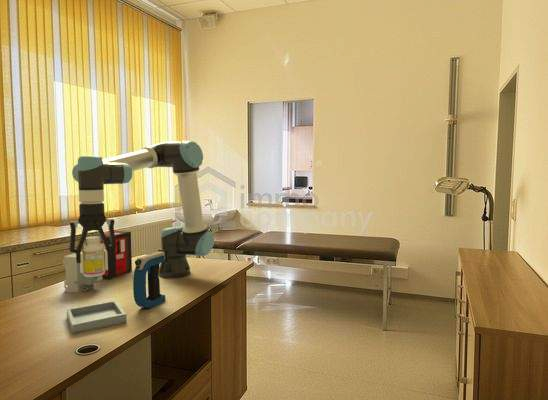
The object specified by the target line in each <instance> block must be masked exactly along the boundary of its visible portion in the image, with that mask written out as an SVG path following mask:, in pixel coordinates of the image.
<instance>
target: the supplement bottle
mask: <svg viewBox="0 0 548 400" xmlns="http://www.w3.org/2000/svg"><path fill="white" fill-rule="evenodd" d="M100 240H101V237H99V236H96V235H92V236H86V238H85V241H84V243H85V245H83V247H82V250H81V252H82V253H83V262H84V273H83V275H84V276H85V277H98V276H101V275H103V274H104V273H105V258H104V246H103V245H102V244H100Z"/></svg>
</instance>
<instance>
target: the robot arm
mask: <svg viewBox="0 0 548 400" xmlns="http://www.w3.org/2000/svg"><path fill="white" fill-rule="evenodd" d="M202 150H203V149H202V148H201V146H200V145H199V143H197V142H196V141H193V140H175V141H163V142H159V143H156V144H151V145H149V146H145V147H142V148H141V149H140V150H138V151H133V152H129V153H126V154H125V153H124V154H121V155H117V156H111V157H108V158H104V159H103V157H102V156H99V155H81V156H79V157H78V158H77V163H76V164H75V165H74V166H73V168H72V171H71V173H72V174H71V175H72V178H73V179H74V181H75V182H76V183H77V182H78V183H77V185H78V202H79V204H78V208H79V209H78V211H79V214H78V215H79V217H78V219H77V220H74V221H69V223H68V224H69V227H70V235H69V236H70V237H69V252H70V253H71V254H73V253H76V262H77V263H80V272H81V273H84V262H83V253H82V248H83V246H84V244H85V238H86V237H87V236H88V234H89V232H92V231H97V232H98V233H99V234H98V235H100V236H101V239H102V241H103V243H104V245H105V248H106V250H104V258H105V270H108V260H109V259H111V249H113V248H116V240H115V233H114V231H115V228H114V225H115V223H116V222H115V220H114V218H107V217H106V216H105V204H104V201H105V195H104V194H105V192H104V187H105V186H104V185H122V184H127V183H130V182H131V180H132V178H133V174H134V173H133V172H136V171H138V170H143V169H146V168H147V169H155V168H172V173H173V174H174V175H175V176H177V183H178V190H179V196H180V202H181V210H182V215H183V222H184V225H179V226H172V227H171V226H170V227H166V228H163V229H162V230H161V233H160V234H161V236H160V239H161V240H160V242H161V243H160V245H161V250H167V256H168V261H167V262H162V263H160V265H159V277H162V278H169V279H171V278H181V277H185V276H188V275H190V274H191V267H190V264H189V260H188V258H187V255H190V256H197V257H206V256H208V254H210V253H211V251H212V249H213V247H214V243H215V235H214V233H212V231H208V225H207V224H205V223H204V217H203V211H202V203H201V196H200V189H199V181H198V175H197V174H198V172H199V171H200V167H201V166H202V165H203V160H204V153H203V151H202ZM104 224H107V226H108V233H109V234H110V241H111V245H109V243H108V241H107V238H106V236H105V232H104V230H103V229H104V228H103V226H104ZM78 225H80V226H81V227H82V231H81V234H80V238H79V240H78V243H77V245H75V244H76V236H77V235H76V234H77V228H78ZM75 246H76V247H75Z"/></svg>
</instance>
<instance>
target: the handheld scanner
mask: <svg viewBox="0 0 548 400" xmlns="http://www.w3.org/2000/svg"><path fill="white" fill-rule="evenodd" d="M167 261H168V256H167V250H162V249H157V252H156V251H155V252H153V253H150V254H146V255H144V256H140V257H137V258H136V260H135V261H134V264H135V268H134V271H133V278H132V286H133V287H132V290H133V300H134V302H135V304H136V305H137V306H138V307H139V308H145V309H146V308H147V309H153V308H154V307H156V306H158V305H160V304H162V303H164V302H165V301H166V294H161V284H160V281H161V280H160V276H159V267H160V263H162V262H167Z"/></svg>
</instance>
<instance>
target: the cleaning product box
mask: <svg viewBox="0 0 548 400" xmlns="http://www.w3.org/2000/svg"><path fill="white" fill-rule="evenodd" d="M114 233H115V240H116V248H113V249H111V259H109V260H108V270H105V273H104V274H103V275H102V280H106V281H107V280H108V281H110V280H112V279H115V278H118V277H120V276H122V275H125V274H127V273H130V272H132V271H133V262H132V258H133V257H132V232H131V231H126V230H125V231H123V230H121V231H120V230H119V231H118V230H114ZM104 234H105V236H106V238H107V241H108V243H109V245H111V241H110V234H109V232H106V233H105V232H104ZM95 236H99V237H101V236H100V234H97V235H95ZM100 244H102V245H103V246H104V250H106V248H105V245H104V243H103V241H102V239H101V240H100Z"/></svg>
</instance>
